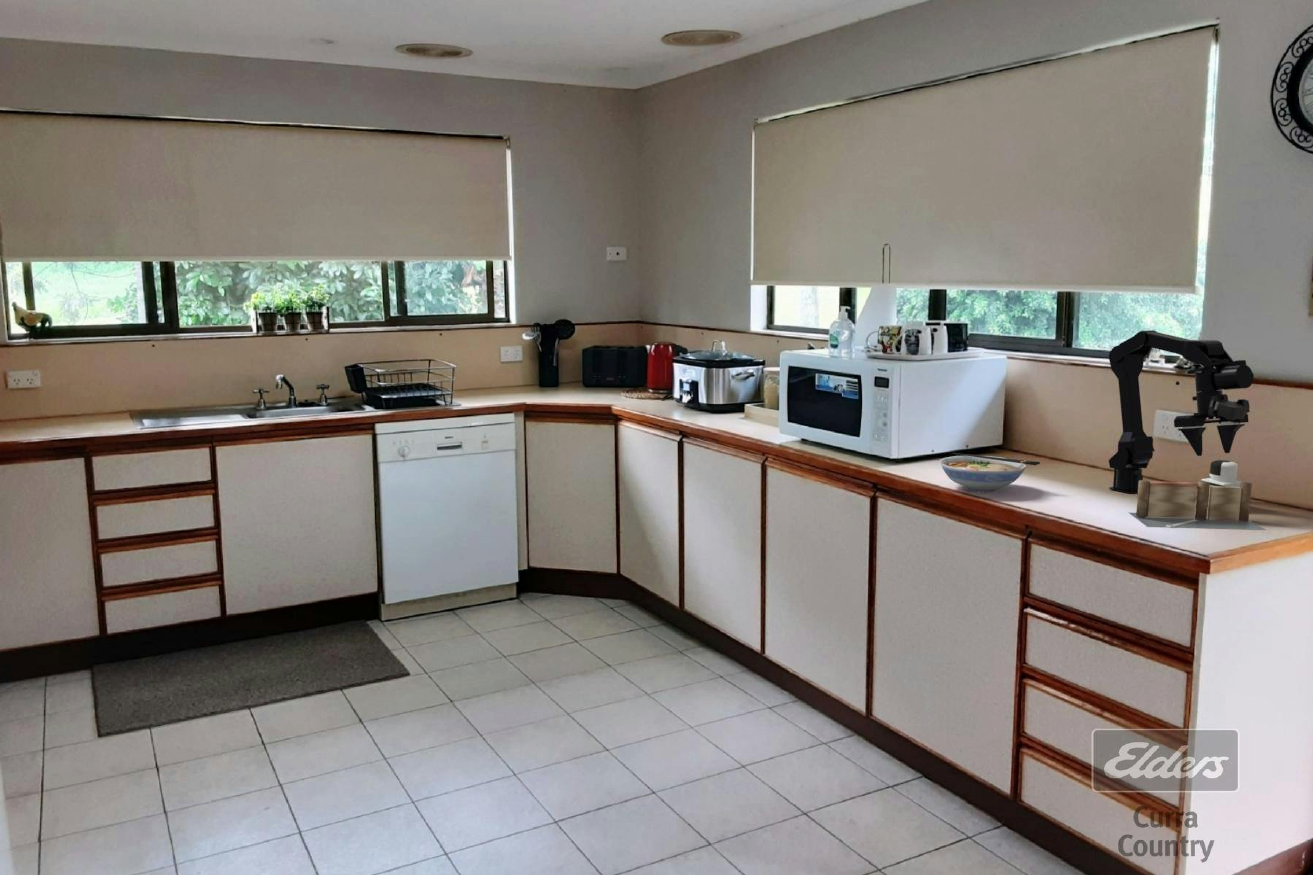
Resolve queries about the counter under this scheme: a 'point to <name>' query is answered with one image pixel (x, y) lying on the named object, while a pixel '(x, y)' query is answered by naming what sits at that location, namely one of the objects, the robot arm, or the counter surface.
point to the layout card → (1196, 523)
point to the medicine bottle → (1223, 474)
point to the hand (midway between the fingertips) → (1213, 454)
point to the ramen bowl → (983, 471)
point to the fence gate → (1166, 499)
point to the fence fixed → (1223, 502)
